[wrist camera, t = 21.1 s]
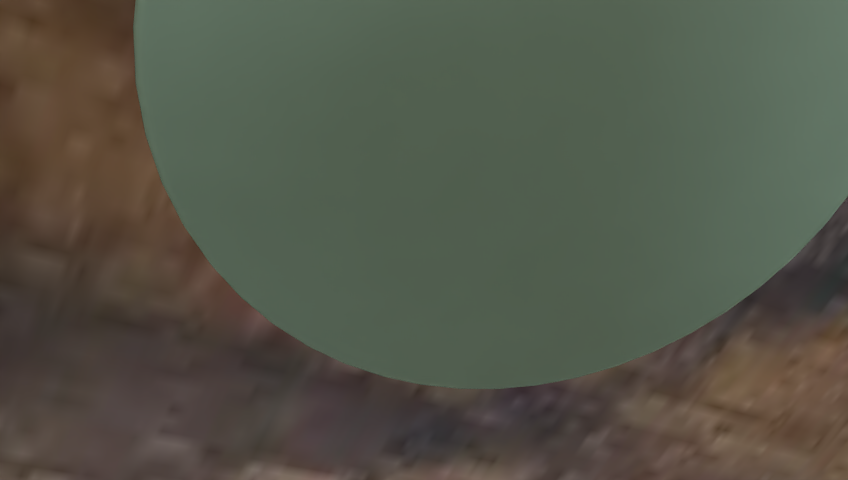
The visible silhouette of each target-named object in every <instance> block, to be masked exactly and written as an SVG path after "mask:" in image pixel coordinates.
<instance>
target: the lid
mask: <svg viewBox="0 0 848 480" xmlns="http://www.w3.org/2000/svg"><path fill="white" fill-rule="evenodd" d="M133 33H134V55H135V78H136V87H137V92H138V98H139V103H140V108H141V113H142V119H143V124H144V129H145V134H146V138H147V141H148V144H149V146H150V149H151V152H152V155H153V158H154V161H155V164H156V167H157V170H158V173H159V176H160V179H161V182H162V184H163V186H164V188H165V190H166V192H167V194H168V196H169V198H170V200H171V202H172V204H173V205H174V207H175V209H176V211H177V213H178V215H179V217H180V219H181V221H182V223H183V225H184V227H185V228H186V229H187V231H188V232H189V234H190V235H191V237H192V238H193V239H194V241H195V242H196V244H197V245H198V247H199V248H200V249H201V251H202V252H203V254H204V255H205V257H206V258H207V259H208V261H209V262H210V264H211V265H212V266H213V267H214V268H215V270H216V271H217V272H218V273H219V274H220V275H221V276H222V277H223V278H224V279H225V280H226V281H227V283H228V284H229V285H230V286H231V287H232V288H233V289H234V290H235V291H236V292H237V293H238V294H239V296H240V297H241V298H243V299H244V300H245V301H246V302H247V303H249V304H250V305H251V306H252V307H253V308H255V309H256V310H257V311H258V312H259V313H261V314H262V315H263V316H264V317H265V318H267V319H268V320H269V321H270V322H271V323H273V324H274V325H276V326H277V327H279V328H280V329H282V330H283V331H285V332H287V333H288V334H290V335H291V336H293V337H294V338H296V339H298V340H299V341H301V342H302V343H304V344H306V345H307V346H309V347H311V348H313V349H315V350H317V351H319V352H322V353H324V354H326V355H328V356H330V357H332V358H334V359H336V360H338V361H340V362H343V363H345V364H348V365H351V366H354V367H357V368H360V369H363V370H365V371H368V372H371V373H374V374H377V375H380V376H384V377H389V378H393V379H398V380H402V381H407V382H411V383H416V384H421V385H430V386H440V387H449V388H458V389H502V388H512V387H523V386H534V385H541V384H546V383H552V382H557V381H562V380H567V379H573V378H577V377H581V376H584V375H588V374H591V373H595V372H598V371H602V370H605V369H609V368H612V367H615V366H618V365H621V364H623V363H626V362H628V361H631V360H634V359H636V358H639V357H641V356H644V355H647V354H649V353H652V352H654V351H656V350H658V349H660V348H662V347H664V346H666V345H668V344H670V343H672V342H674V341H676V340H678V339H680V338H682V337H684V336H687V335H689V334H690V333H692V332H694V331H695V330H697V329H699V328H700V327H702V326H704V325H705V324H707V323H709V322H710V321H712V320H714V319H715V318H717V317H719V316H720V315H722V314H723V313H725V312H727V311H728V310H729V309H731V308H732V307H733V306H735V305H736V304H738V303H739V302H740V301H742V300H743V299H744V298H746V297H747V296H749V295H750V294H751V293H753V292H754V291H755V290H757V289H758V288H759V287H761V286H762V285H763V284H764V283H765V282H766V281H768V280H769V279H770V278H771V277H772V276H773V275H774V274H776V273H777V272H778V271H779V270H780V269H781V268H782V267H784V266H785V265H786V264H787V263H788V262H789V261H791V260H792V259H793V258H794V257H795V256H796V255H797V254H798V253H799V252H800V251H801V250H802V248H803V247H804V246H805V245H806V244H807V243H808V242H809V241H810V240H811V239H812V238H813V237H814V236H815V235H816V234H817V233H818V232H819V231H820V230H821V229H822V228H823V227H824V225H825V224H826V223H827V222H828V220H829V219H830V218H831V217H832V215H833V214H834V213H835V212H836V210H837V209H838V208H839V207H840V205H841V204H842V203H843V202H844V200H845V199H846V198H847V197H848V0H136V3H135V14H134V24H133Z"/></svg>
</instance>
